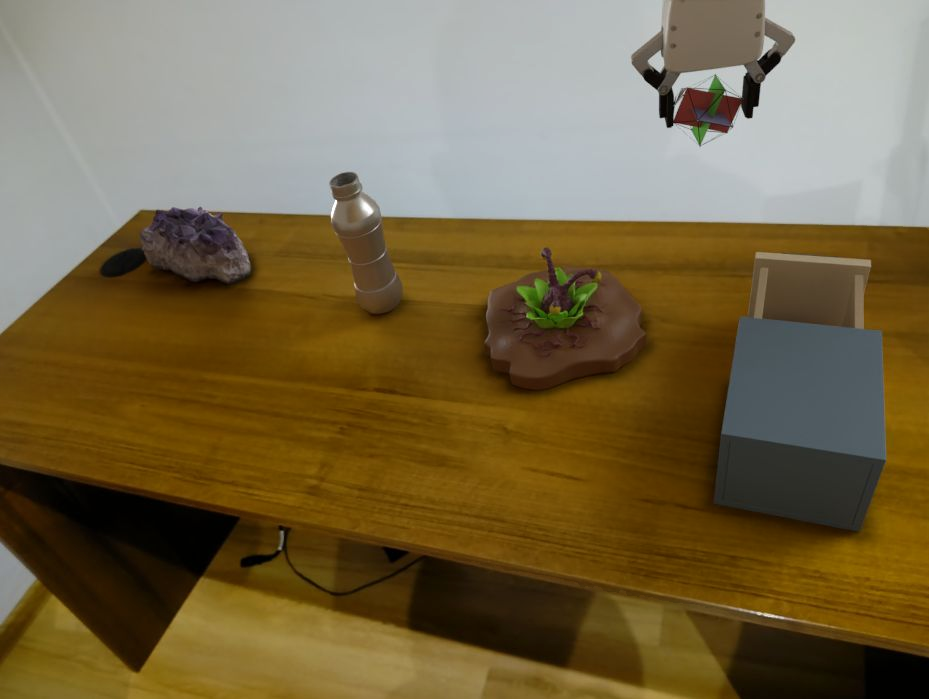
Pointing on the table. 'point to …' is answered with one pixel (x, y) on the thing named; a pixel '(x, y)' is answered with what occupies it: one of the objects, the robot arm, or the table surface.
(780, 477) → the cabinet
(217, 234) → the geode
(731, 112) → the geometric puzzle
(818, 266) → the drawer
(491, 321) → the plant
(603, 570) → the table surface
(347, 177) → the plastic bottle
